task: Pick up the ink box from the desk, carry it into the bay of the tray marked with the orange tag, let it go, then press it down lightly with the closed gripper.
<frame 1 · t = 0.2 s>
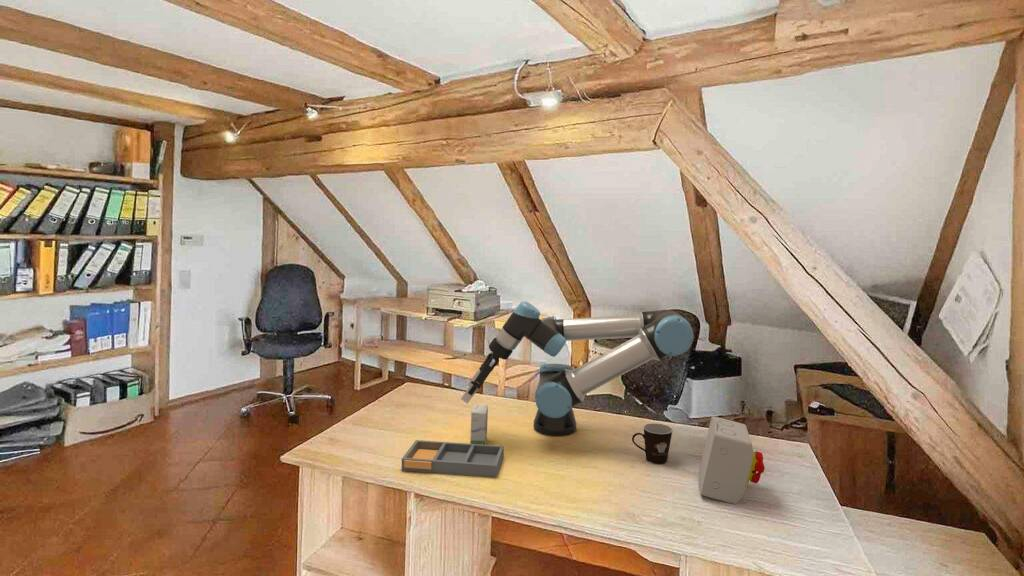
hand: (467, 393, 184), 15 cm above the table, tool tilted 35°, fingers open, 13 cm apart
electrical switch box: (729, 492, 152), on the table
coffee mug: (651, 459, 172), on the table
tray: (454, 463, 167), on the table
ink box: (478, 443, 182), on the table
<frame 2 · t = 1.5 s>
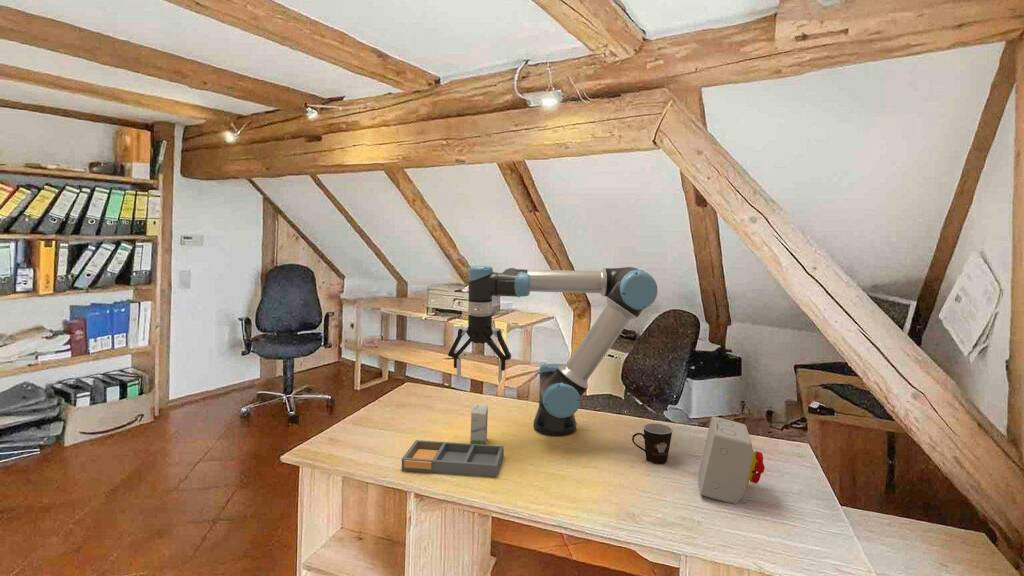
hand: (479, 379, 180), 22 cm above the table, tool pointing down, fingers open, 13 cm apart
nothing on the table moved.
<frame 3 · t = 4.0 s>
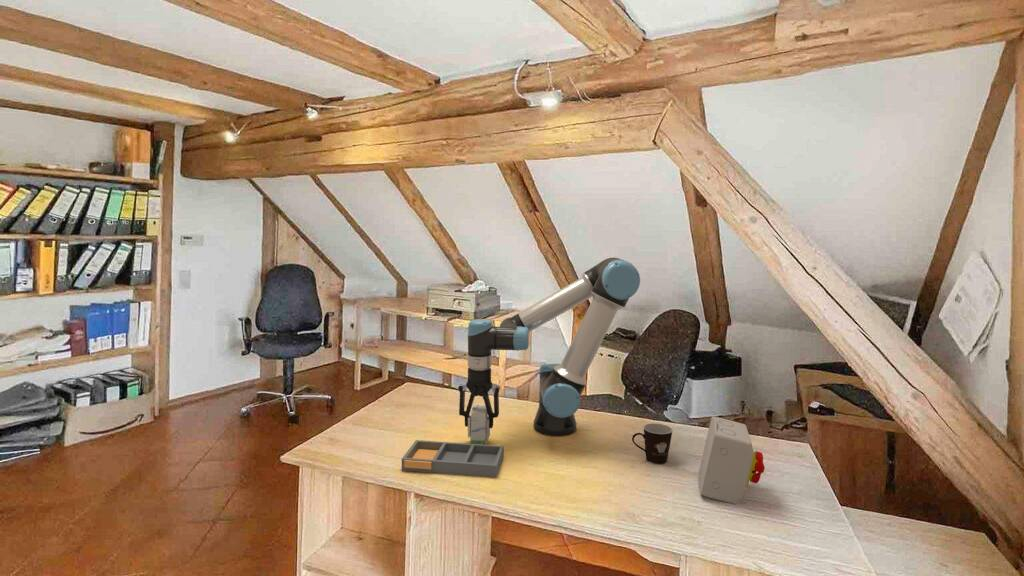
hand: (478, 436, 182), 2 cm above the table, tool pointing down, fingers closed on ink box, 5 cm apart
ink box: (479, 443, 182), on the table, touching gripper
everything else where it was.
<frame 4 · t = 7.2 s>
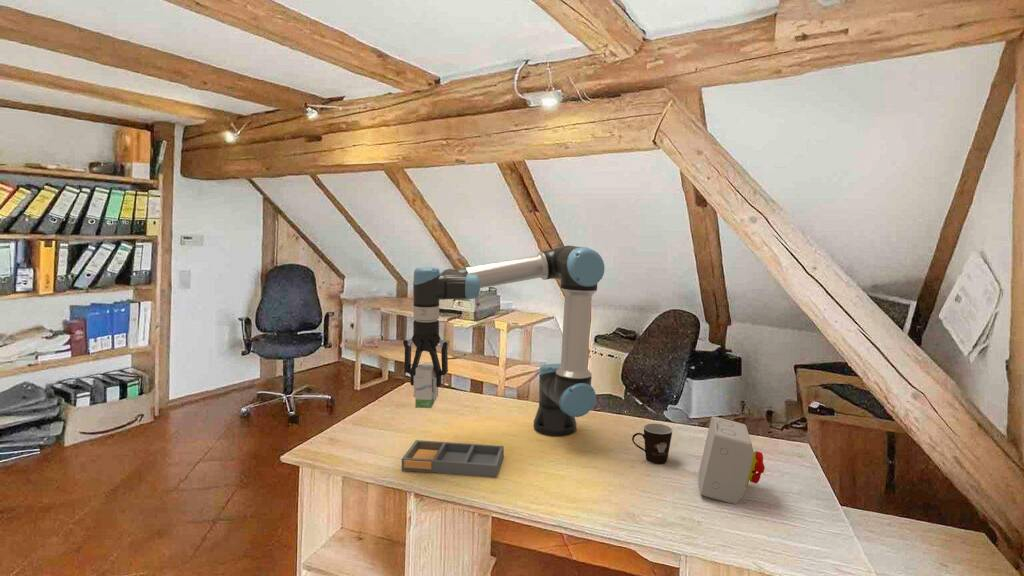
hand: (425, 396, 166), 20 cm above the table, tool pointing down, fingers closed on ink box, 5 cm apart
ink box: (426, 404, 167), point 18 cm above the table, touching gripper
everything else where it was.
when the fingers open (5 cm above the table, at t = 10.5 s): ink box drops 1 cm, resting on tray.
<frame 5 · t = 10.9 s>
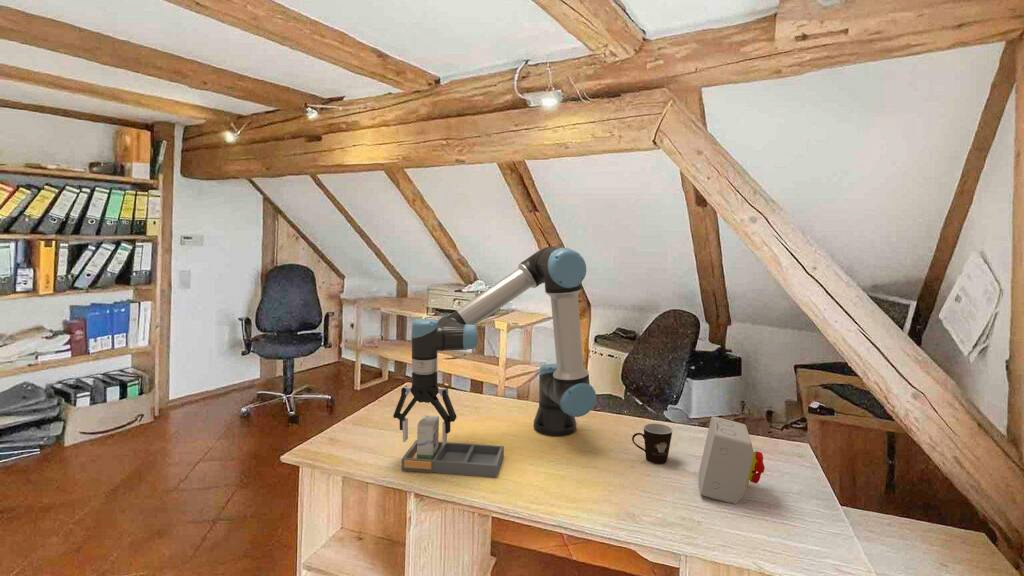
hand: (425, 441, 167), 6 cm above the table, tool pointing down, fingers open, 11 cm apart
ink box: (428, 458, 168), point 1 cm above the table, touching tray
everything else where it was.
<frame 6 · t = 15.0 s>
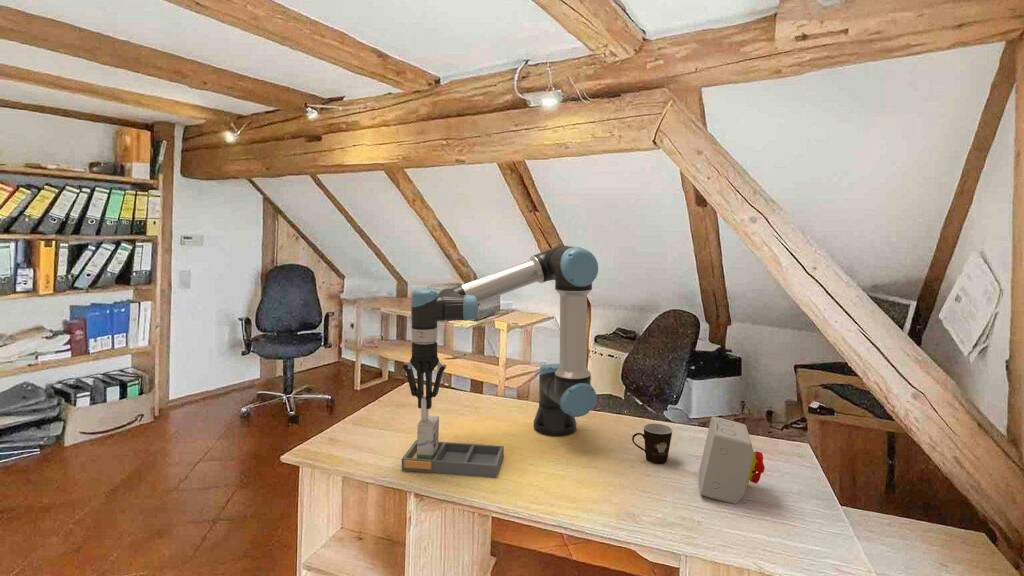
hand: (424, 418, 167), 13 cm above the table, tool pointing down, fingers closed
nothing on the table moved.
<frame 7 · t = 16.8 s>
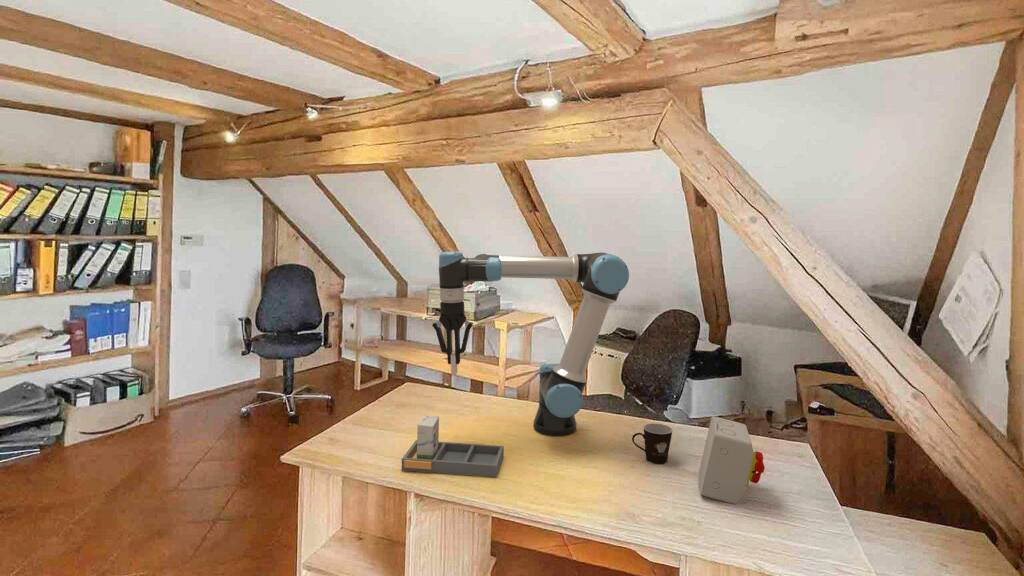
hand: (454, 373, 178), 24 cm above the table, tool pointing down, fingers closed
nothing on the table moved.
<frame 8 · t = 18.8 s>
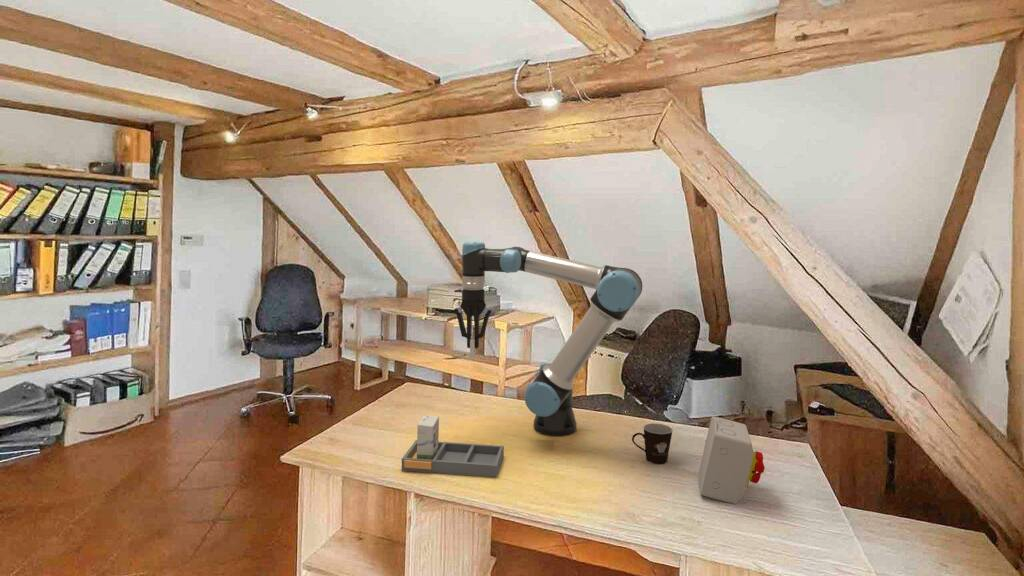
hand: (472, 357, 188), 26 cm above the table, tool pointing down, fingers closed
nothing on the table moved.
at the end: ink box inside the target area on the tray (0.9 cm from its centre), point 1.0 cm above the tray's base; ink box tilted 0°; the gripper is holding nothing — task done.
